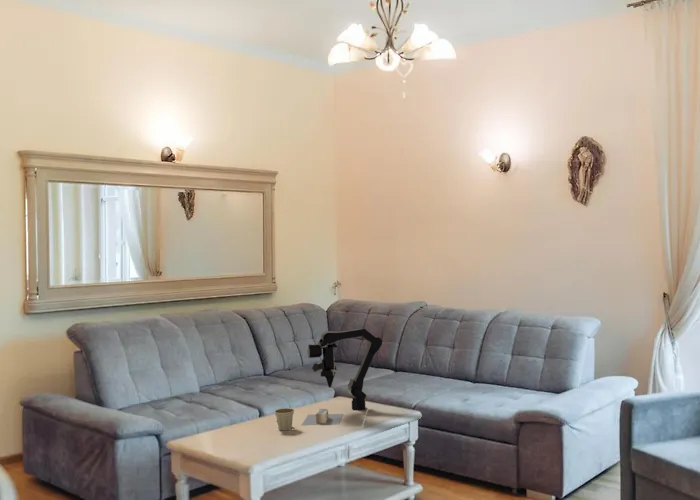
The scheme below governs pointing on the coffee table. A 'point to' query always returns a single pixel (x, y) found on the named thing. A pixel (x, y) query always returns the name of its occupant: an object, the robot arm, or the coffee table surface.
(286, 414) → the flower pot
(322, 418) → the birch block
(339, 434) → the coffee table surface
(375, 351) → the robot arm
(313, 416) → the mat
